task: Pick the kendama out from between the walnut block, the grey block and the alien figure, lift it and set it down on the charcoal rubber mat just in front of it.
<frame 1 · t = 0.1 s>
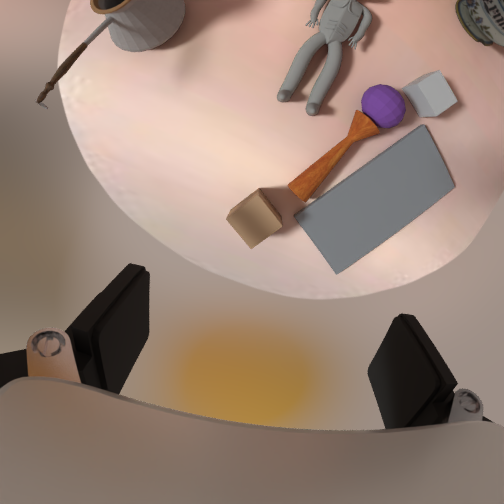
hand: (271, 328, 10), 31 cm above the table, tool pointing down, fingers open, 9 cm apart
kendama: (343, 140, 36), on the table
walnut block: (255, 212, 41), on the table
alien figure: (329, 38, 31), on the table
grey block: (421, 95, 32), on the table
coffee pot: (134, 50, 32), on the table
apothecary jar: (475, 22, 25), on the table
charcoal mat: (381, 198, 38), on the table
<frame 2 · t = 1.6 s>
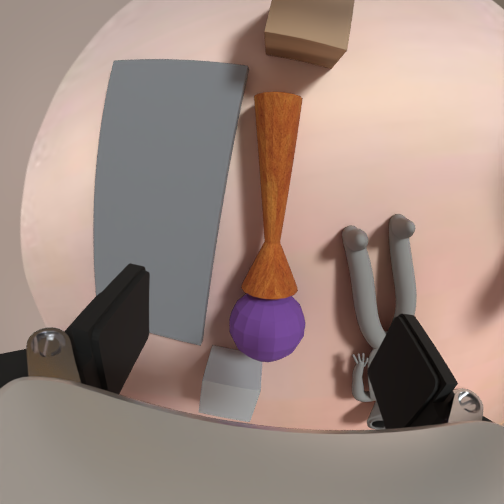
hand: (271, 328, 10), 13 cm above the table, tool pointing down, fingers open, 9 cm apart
kendama: (272, 227, 23), on the table
walnut block: (304, 34, 17), on the table
alien figure: (381, 334, 26), on the table
grey block: (233, 367, 28), on the table
charcoal mat: (155, 207, 23), on the table
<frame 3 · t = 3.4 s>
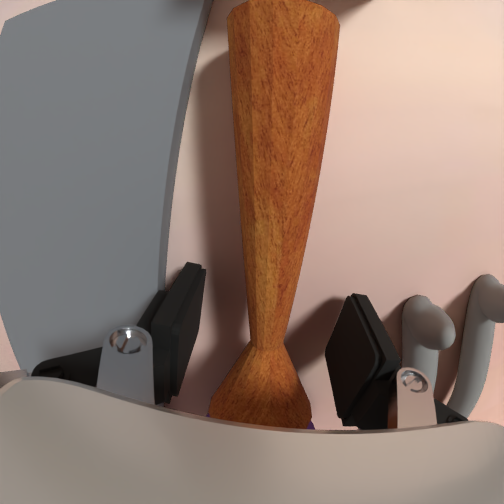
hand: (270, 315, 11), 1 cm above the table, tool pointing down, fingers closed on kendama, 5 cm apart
kendama: (267, 295, 12), on the table, touching gripper
alien figure: (415, 422, 16), on the table
charcoal mat: (60, 257, 11), on the table
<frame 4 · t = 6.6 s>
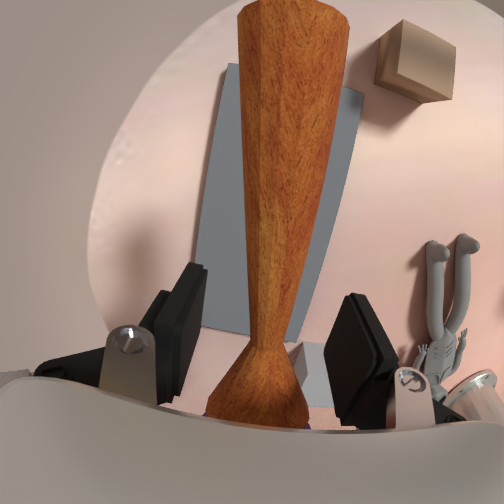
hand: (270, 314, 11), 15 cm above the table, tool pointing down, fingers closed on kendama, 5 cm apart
kendama: (268, 295, 12), point 14 cm above the table, touching gripper
walnut block: (402, 69, 19), on the table
alien figure: (434, 329, 29), on the table
grey block: (317, 360, 31), on the table
charcoal mat: (268, 214, 25), on the table
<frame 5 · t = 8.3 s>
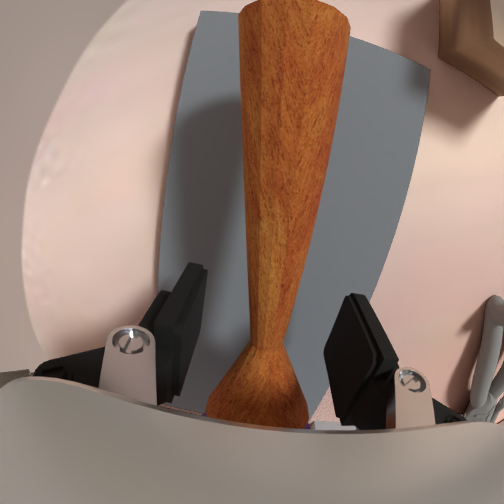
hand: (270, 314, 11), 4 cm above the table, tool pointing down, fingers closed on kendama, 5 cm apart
kendama: (268, 295, 12), point 3 cm above the table, touching gripper
walnut block: (471, 43, 9), on the table
alien figure: (473, 389, 20), on the table
grey block: (331, 436, 21), on the table
charcoal mat: (269, 267, 15), on the table
when the fingers open (3 cm above the table, at t = 9.4 s): kendama drops 1 cm, resting on charcoal mat.
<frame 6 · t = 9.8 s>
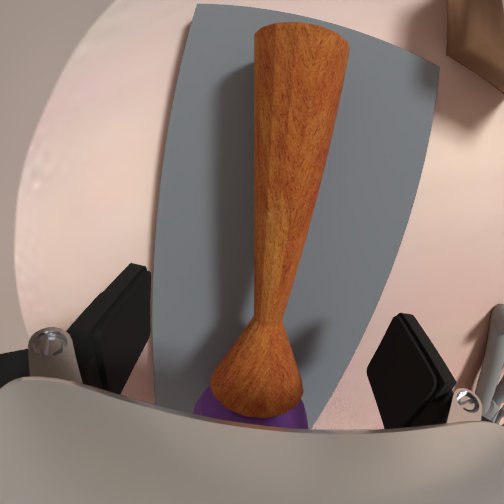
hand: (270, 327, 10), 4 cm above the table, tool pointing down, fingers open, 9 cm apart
kendama: (268, 279, 13), point 1 cm above the table, touching charcoal mat
walnut block: (479, 41, 8), on the table
alien figure: (476, 396, 19), on the table
charcoal mat: (270, 274, 14), on the table
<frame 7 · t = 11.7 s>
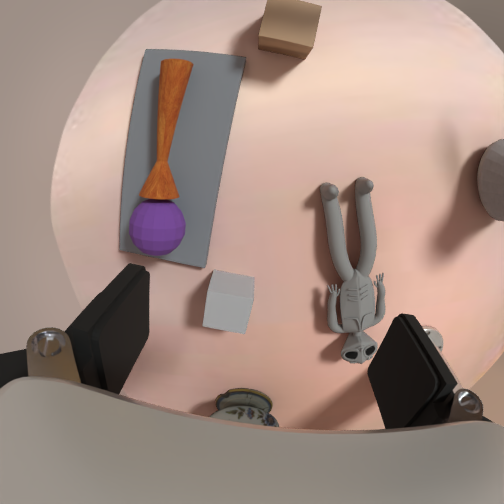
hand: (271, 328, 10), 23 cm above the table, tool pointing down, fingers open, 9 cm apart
kendama: (170, 155, 29), point 1 cm above the table, touching charcoal mat
walnut block: (286, 35, 24), on the table
alien figure: (350, 274, 36), on the table
grey block: (230, 290, 36), on the table
coffee pot: (493, 142, 27), on the table
apothecary jar: (243, 403, 46), on the table
charcoal mat: (174, 156, 30), on the table
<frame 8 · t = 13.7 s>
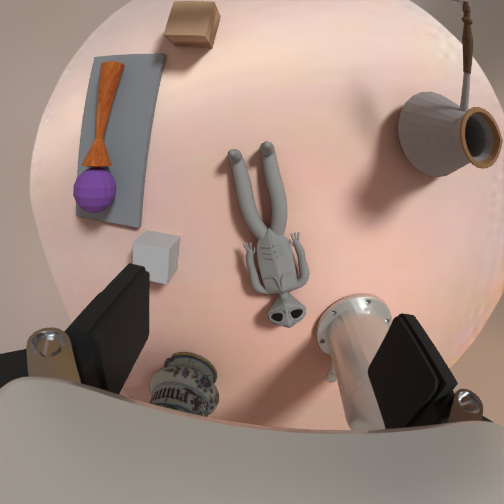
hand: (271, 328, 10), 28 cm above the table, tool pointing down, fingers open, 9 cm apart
kendama: (109, 135, 33), point 1 cm above the table, touching charcoal mat
walnut block: (198, 31, 29), on the table
alien figure: (271, 236, 39), on the table
grey block: (162, 249, 40), on the table
coffee pot: (420, 99, 30), on the table
apothecary jar: (190, 370, 49), on the table
charcoal mat: (114, 137, 34), on the table
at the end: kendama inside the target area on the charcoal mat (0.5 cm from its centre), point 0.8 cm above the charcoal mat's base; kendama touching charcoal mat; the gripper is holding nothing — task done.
